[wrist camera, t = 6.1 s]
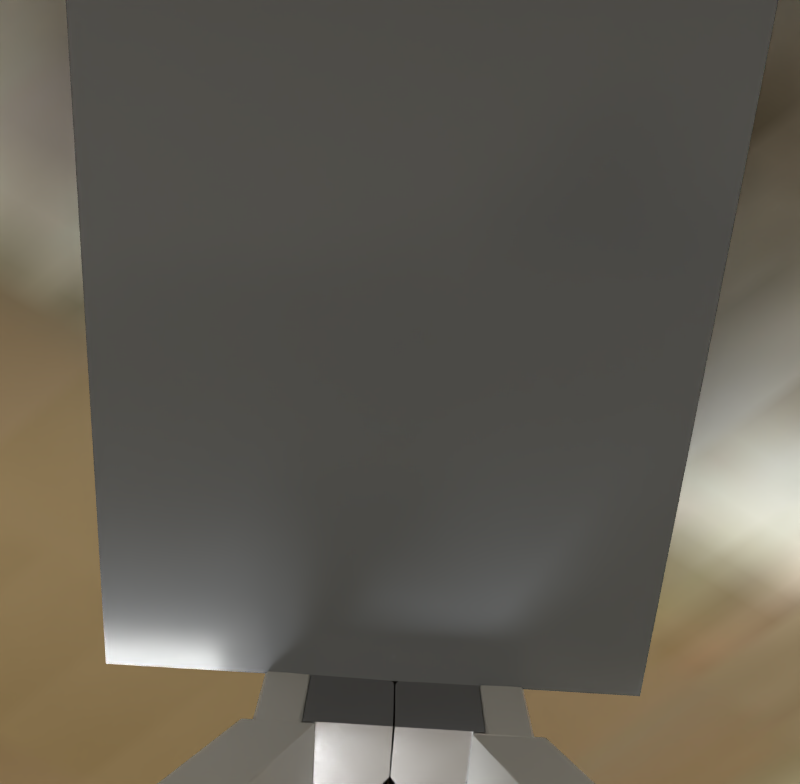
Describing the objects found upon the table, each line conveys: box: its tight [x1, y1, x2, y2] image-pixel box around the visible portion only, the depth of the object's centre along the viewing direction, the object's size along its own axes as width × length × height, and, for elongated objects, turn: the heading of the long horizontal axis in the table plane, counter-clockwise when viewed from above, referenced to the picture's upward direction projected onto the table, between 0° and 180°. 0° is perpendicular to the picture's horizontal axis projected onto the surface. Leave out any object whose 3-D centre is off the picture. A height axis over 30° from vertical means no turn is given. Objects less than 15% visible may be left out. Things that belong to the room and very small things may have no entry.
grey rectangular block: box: [66, 0, 778, 696], centre depth 8 cm, size 6×9×3 cm, turn 176°
